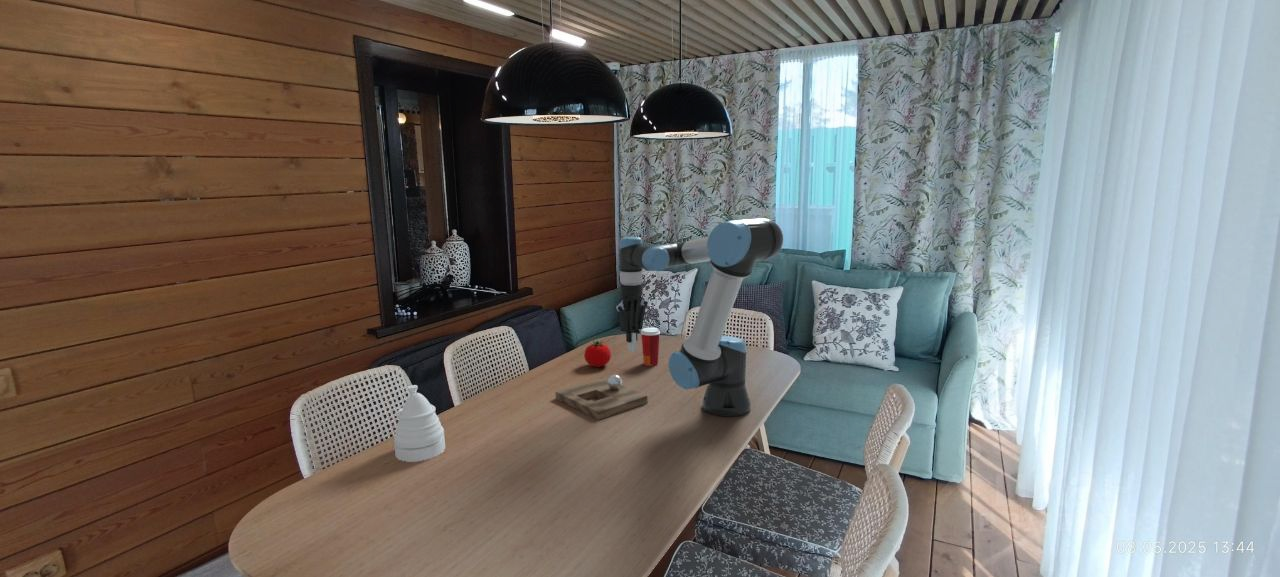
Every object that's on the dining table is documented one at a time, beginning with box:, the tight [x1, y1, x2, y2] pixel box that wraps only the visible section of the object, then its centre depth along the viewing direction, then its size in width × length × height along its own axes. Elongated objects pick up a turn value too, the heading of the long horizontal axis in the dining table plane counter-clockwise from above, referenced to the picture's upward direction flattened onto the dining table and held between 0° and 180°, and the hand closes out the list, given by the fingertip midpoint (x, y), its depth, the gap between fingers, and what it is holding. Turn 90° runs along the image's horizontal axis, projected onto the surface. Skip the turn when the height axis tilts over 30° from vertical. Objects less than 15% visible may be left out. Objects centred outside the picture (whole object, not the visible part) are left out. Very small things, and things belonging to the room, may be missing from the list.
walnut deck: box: [555, 377, 648, 421], centre depth 195 cm, size 24×20×2 cm
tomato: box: [583, 340, 612, 368], centre depth 230 cm, size 10×10×10 cm
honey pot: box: [393, 384, 446, 463], centre depth 159 cm, size 13×13×18 cm
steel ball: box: [607, 374, 623, 390], centre depth 198 cm, size 5×5×5 cm
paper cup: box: [639, 327, 661, 367], centre depth 231 cm, size 8×8×14 cm
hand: (631, 350), depth 202 cm, fingers closed
